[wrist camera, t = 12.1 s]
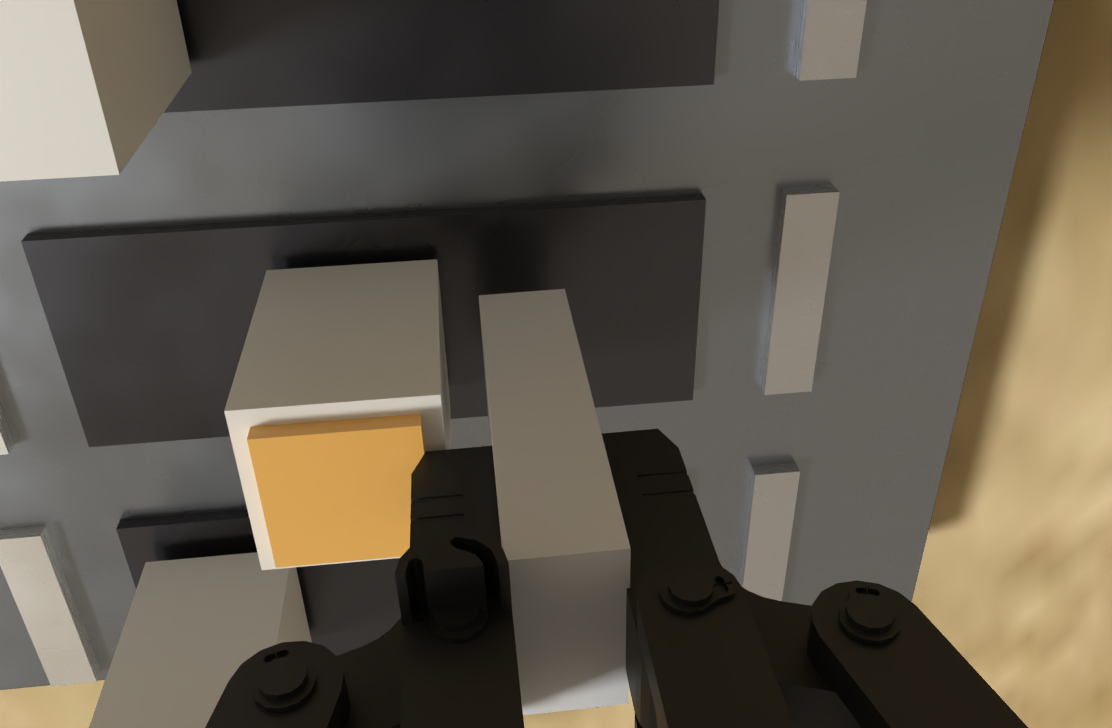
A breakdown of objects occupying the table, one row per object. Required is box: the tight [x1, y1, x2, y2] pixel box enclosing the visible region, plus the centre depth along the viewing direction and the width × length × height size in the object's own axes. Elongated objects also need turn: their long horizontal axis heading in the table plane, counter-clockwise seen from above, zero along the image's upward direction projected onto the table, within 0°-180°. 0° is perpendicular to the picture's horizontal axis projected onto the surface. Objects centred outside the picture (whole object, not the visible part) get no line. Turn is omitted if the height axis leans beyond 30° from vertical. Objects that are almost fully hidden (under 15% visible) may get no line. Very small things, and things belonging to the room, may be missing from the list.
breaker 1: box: [0, 0, 192, 182], centre depth 13 cm, size 3×3×4 cm
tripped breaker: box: [224, 259, 452, 570], centre depth 17 cm, size 3×3×5 cm
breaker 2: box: [89, 552, 312, 728], centre depth 20 cm, size 3×3×4 cm
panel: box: [0, 0, 1054, 690], centre depth 20 cm, size 18×24×2 cm
